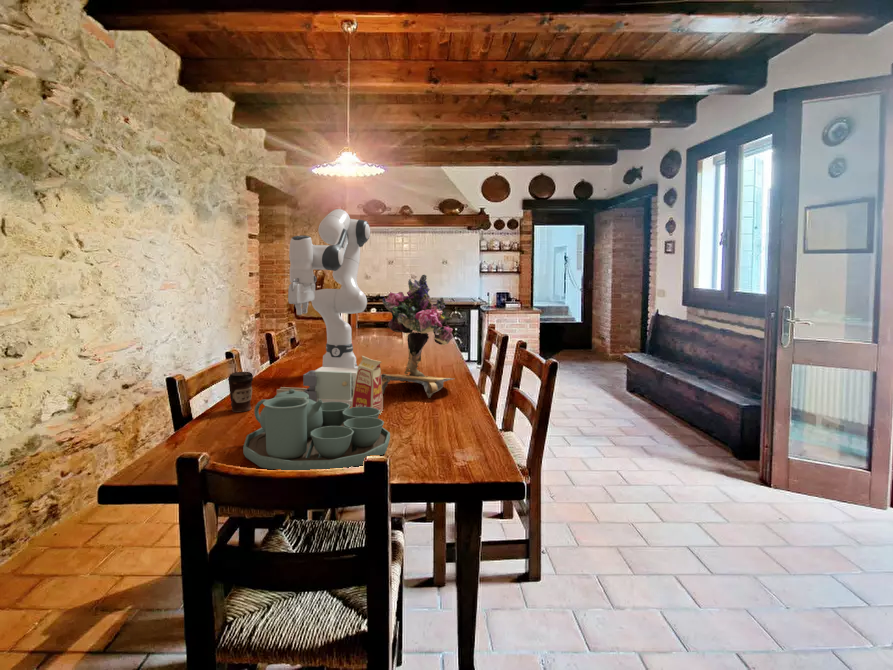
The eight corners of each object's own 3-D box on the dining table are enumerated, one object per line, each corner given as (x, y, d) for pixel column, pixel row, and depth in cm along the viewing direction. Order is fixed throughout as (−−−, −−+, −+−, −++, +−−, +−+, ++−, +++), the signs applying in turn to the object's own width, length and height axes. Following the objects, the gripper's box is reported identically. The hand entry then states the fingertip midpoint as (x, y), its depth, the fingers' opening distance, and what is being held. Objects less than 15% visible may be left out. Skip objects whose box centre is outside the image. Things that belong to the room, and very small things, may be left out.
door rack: (281, 394, 216) (281, 387, 216) (306, 395, 216) (306, 388, 215) (276, 397, 212) (276, 389, 211) (302, 398, 211) (302, 390, 211)
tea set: (392, 472, 141) (392, 409, 139) (226, 477, 136) (224, 411, 133) (388, 426, 180) (388, 376, 178) (259, 428, 175) (258, 376, 172)
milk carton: (350, 415, 190) (350, 357, 188) (363, 408, 199) (363, 353, 196) (374, 418, 187) (374, 359, 185) (386, 411, 196) (387, 355, 193)
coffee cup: (259, 410, 194) (258, 373, 192) (236, 414, 188) (235, 376, 186) (247, 405, 200) (246, 369, 198) (224, 409, 194) (223, 372, 192)
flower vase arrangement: (455, 368, 257) (465, 277, 236) (452, 426, 218) (464, 322, 197) (383, 361, 257) (386, 269, 236) (367, 418, 217) (370, 314, 197)
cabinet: (317, 394, 218) (317, 366, 217) (361, 396, 217) (361, 368, 215) (303, 404, 202) (303, 374, 201) (351, 406, 201) (351, 376, 200)
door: (310, 396, 206) (310, 370, 205) (351, 398, 205) (351, 371, 203) (307, 399, 203) (307, 371, 201) (349, 400, 201) (349, 373, 200)
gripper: (300, 279, 204) (300, 316, 206) (317, 277, 224) (318, 312, 226) (283, 278, 204) (284, 316, 206) (302, 277, 225) (302, 311, 227)
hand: (302, 314), depth 216 cm, fingers open, 4 cm apart
